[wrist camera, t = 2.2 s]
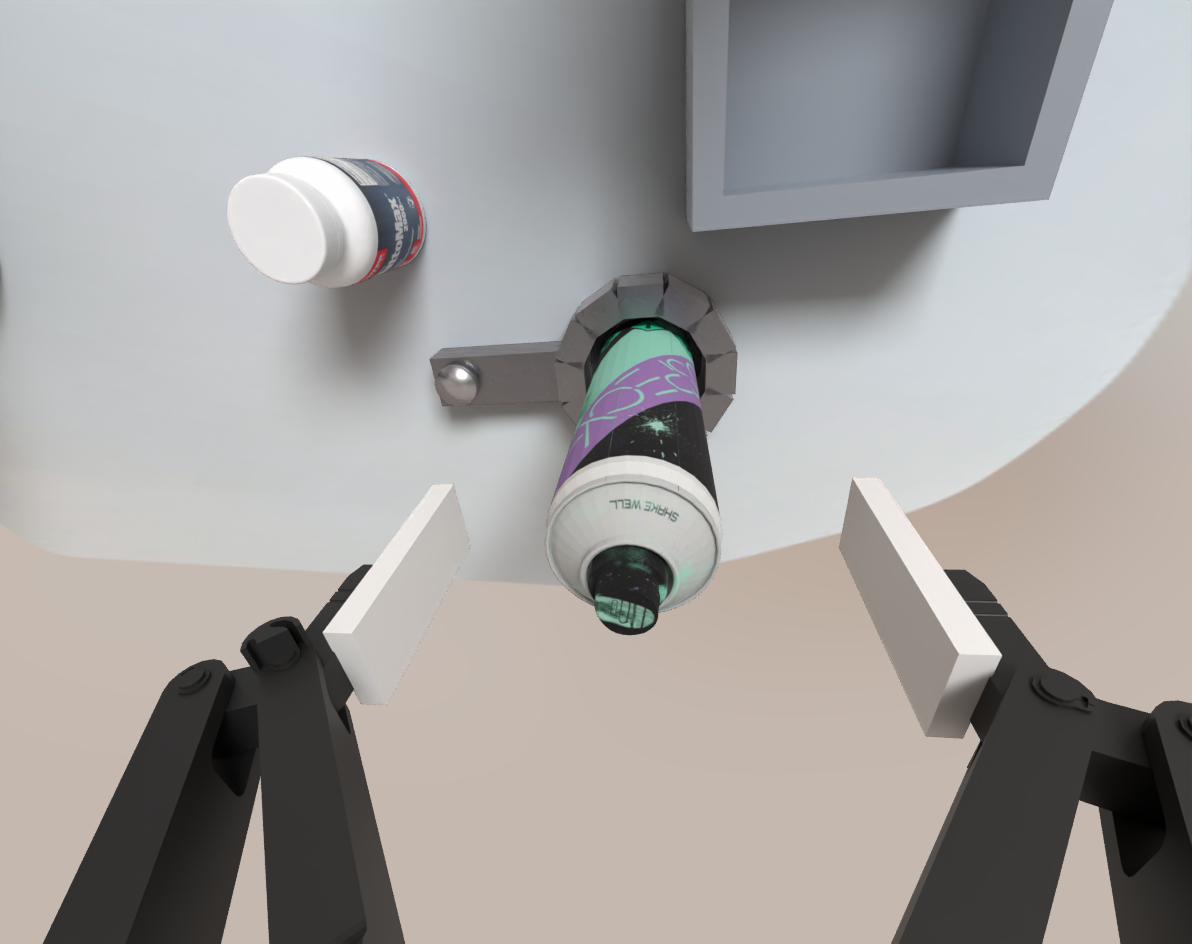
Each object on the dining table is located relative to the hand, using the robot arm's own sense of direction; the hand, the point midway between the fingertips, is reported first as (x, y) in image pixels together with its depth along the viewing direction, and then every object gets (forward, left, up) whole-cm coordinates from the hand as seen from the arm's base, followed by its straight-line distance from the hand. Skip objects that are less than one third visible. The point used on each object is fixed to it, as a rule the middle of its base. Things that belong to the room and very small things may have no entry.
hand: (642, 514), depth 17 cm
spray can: (0, 0, -16) cm, 16 cm away
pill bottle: (-14, +9, -16) cm, 23 cm away
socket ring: (-4, 0, -15) cm, 16 cm away
